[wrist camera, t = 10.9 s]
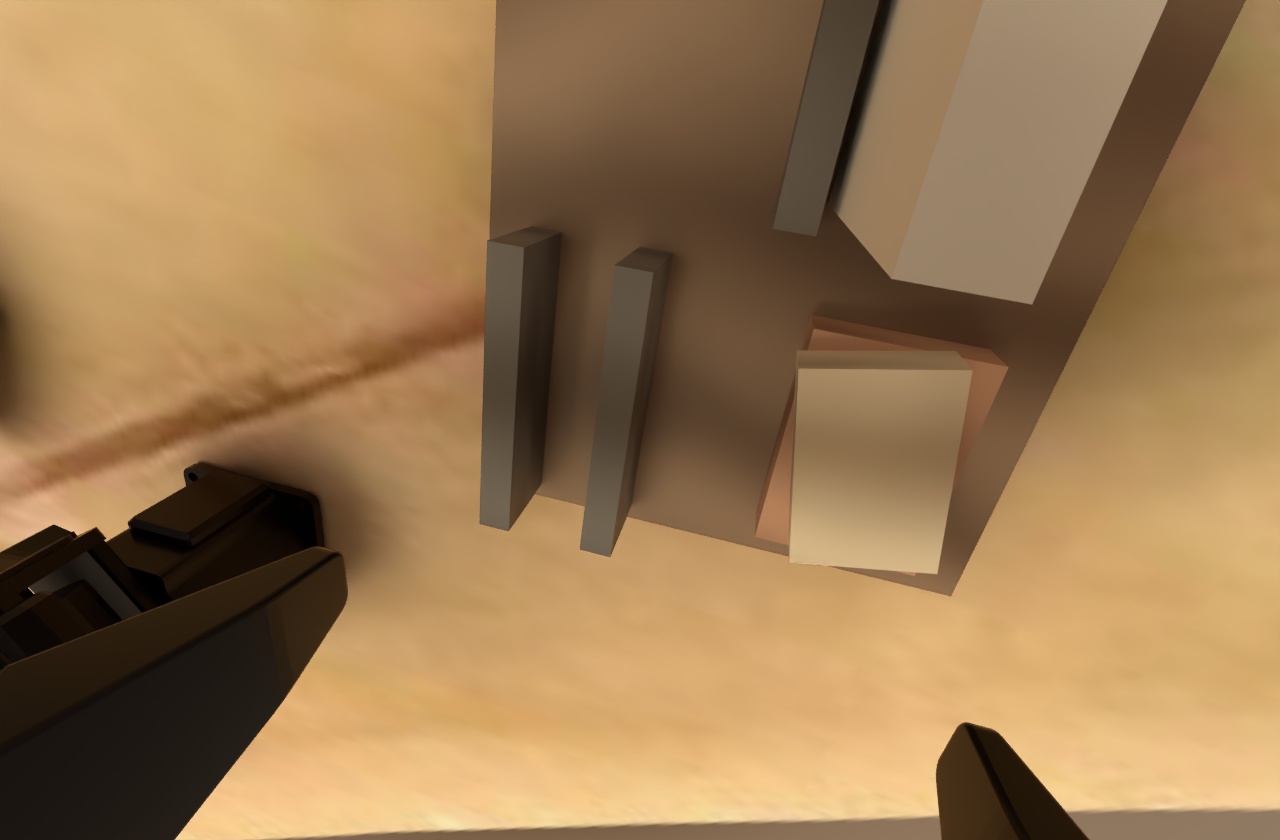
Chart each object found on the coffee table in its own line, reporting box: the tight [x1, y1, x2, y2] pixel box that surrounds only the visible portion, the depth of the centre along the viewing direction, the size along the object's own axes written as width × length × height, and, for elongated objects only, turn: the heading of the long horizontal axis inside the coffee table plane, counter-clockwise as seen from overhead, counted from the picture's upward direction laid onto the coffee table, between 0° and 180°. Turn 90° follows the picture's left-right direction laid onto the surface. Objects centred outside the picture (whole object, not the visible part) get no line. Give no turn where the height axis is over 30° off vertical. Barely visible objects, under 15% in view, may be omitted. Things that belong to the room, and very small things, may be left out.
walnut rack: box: [480, 0, 1246, 596], centre depth 16 cm, size 20×17×4 cm
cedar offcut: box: [755, 315, 1009, 576], centre depth 18 cm, size 7×5×2 cm
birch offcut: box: [788, 350, 973, 574], centre depth 16 cm, size 6×4×2 cm, turn 4°
